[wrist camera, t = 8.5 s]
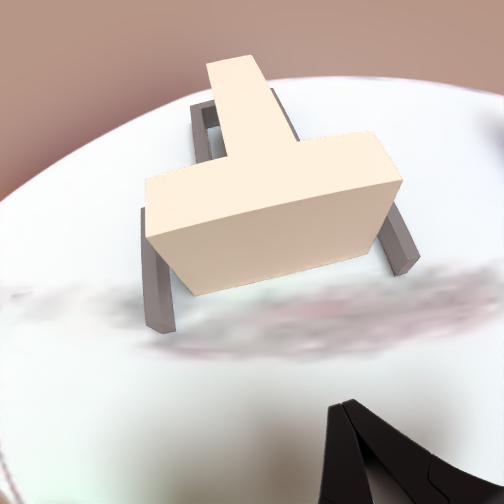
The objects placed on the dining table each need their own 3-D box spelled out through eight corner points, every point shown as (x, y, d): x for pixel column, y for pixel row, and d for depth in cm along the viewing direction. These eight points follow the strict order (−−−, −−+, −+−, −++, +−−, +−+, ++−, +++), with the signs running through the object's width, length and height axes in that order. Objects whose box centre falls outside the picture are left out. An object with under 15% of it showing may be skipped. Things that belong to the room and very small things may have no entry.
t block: (367, 254, 19) (403, 179, 12) (195, 296, 19) (145, 237, 12) (304, 121, 26) (304, 48, 19) (179, 148, 26) (152, 79, 19)
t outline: (407, 272, 18) (420, 256, 16) (161, 333, 18) (145, 325, 16) (316, 101, 27) (316, 82, 25) (153, 137, 27) (145, 119, 25)
